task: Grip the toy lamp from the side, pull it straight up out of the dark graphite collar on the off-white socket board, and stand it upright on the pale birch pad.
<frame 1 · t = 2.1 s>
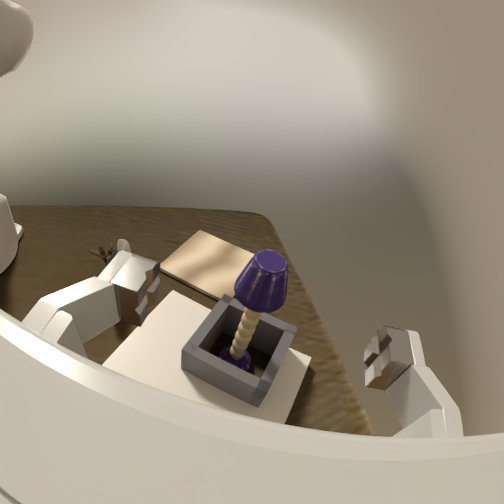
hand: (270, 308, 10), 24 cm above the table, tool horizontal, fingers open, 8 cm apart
toy lamp: (234, 365, 35), resting in socket board
socket board: (204, 381, 32), on the table
eagle figurine: (117, 286, 40), on the table
birch pad: (211, 264, 47), on the table
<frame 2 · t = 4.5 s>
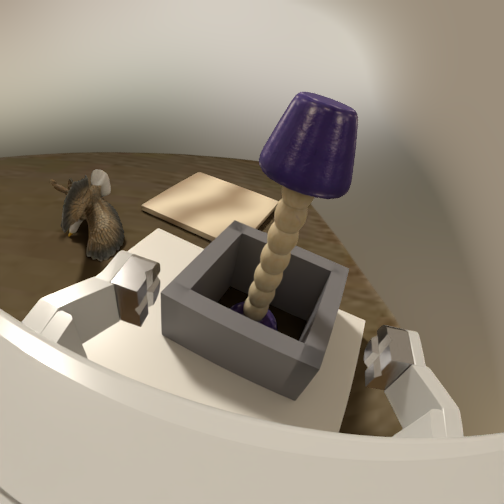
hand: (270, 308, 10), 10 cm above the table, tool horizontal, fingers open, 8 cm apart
toy lamp: (250, 334, 22), resting in socket board
socket board: (200, 358, 19), on the table
eagle figurine: (88, 234, 27), on the table
birch pad: (213, 206, 35), on the table
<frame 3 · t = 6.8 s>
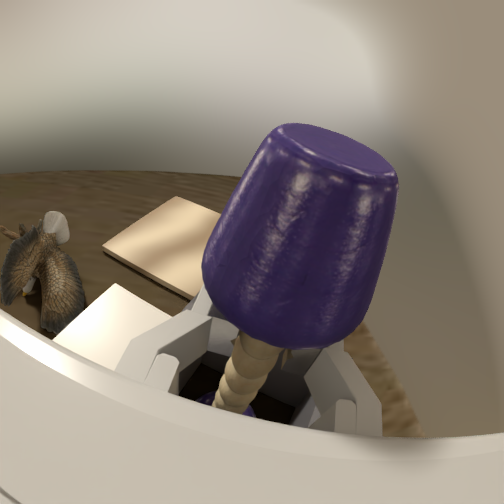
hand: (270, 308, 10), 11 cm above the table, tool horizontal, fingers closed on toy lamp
toy lamp: (223, 429, 16), resting in socket board, touching gripper
socket board: (161, 462, 13), on the table
eagle figurine: (46, 292, 21), on the table
birch pad: (189, 244, 29), on the table
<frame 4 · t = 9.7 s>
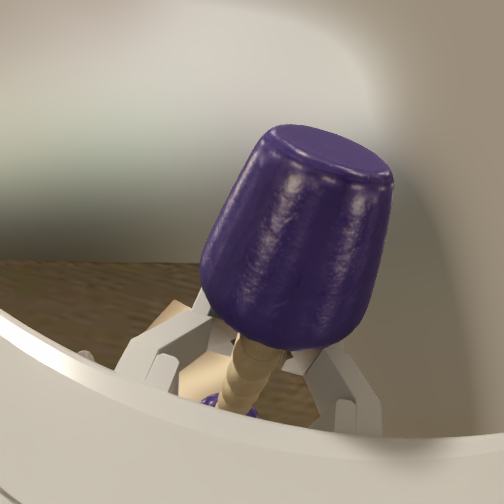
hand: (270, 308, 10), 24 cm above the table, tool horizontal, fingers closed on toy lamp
toy lamp: (227, 430, 16), point 13 cm above the table, touching gripper
birch pad: (189, 354, 34), on the table
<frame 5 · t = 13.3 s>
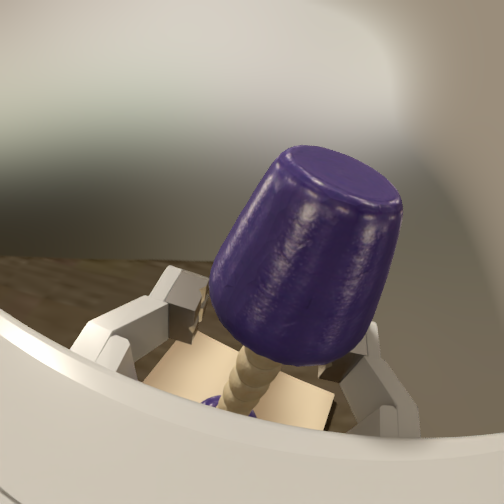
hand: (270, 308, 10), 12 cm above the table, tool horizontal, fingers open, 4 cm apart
toy lamp: (226, 432, 16), resting on birch pad
birch pad: (221, 432, 17), on the table
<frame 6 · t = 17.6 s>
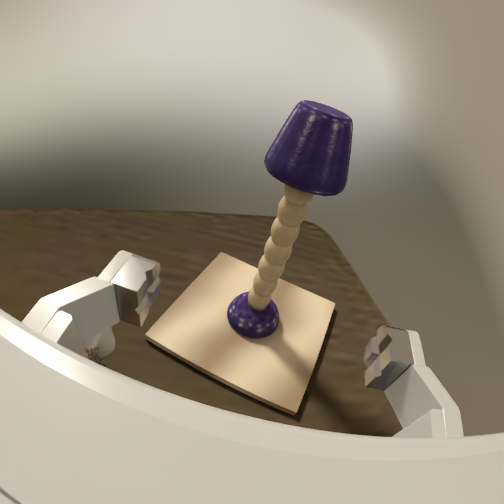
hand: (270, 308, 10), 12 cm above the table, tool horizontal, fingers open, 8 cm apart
toy lamp: (254, 322, 24), resting on birch pad
eagle figurine: (90, 413, 15), on the table
birch pad: (250, 323, 24), on the table
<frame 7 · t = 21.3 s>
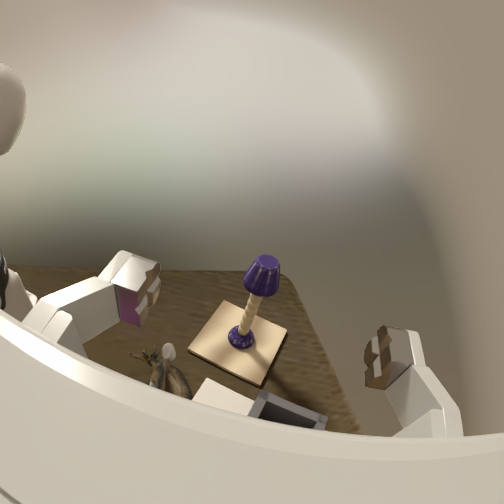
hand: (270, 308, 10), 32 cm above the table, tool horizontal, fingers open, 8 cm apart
toy lamp: (241, 340, 47), resting on birch pad
socket board: (244, 464, 31), on the table
eagle figurine: (162, 388, 38), on the table
birch pad: (239, 341, 47), on the table
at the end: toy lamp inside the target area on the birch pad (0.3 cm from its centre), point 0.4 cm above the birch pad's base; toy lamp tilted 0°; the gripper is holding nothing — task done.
